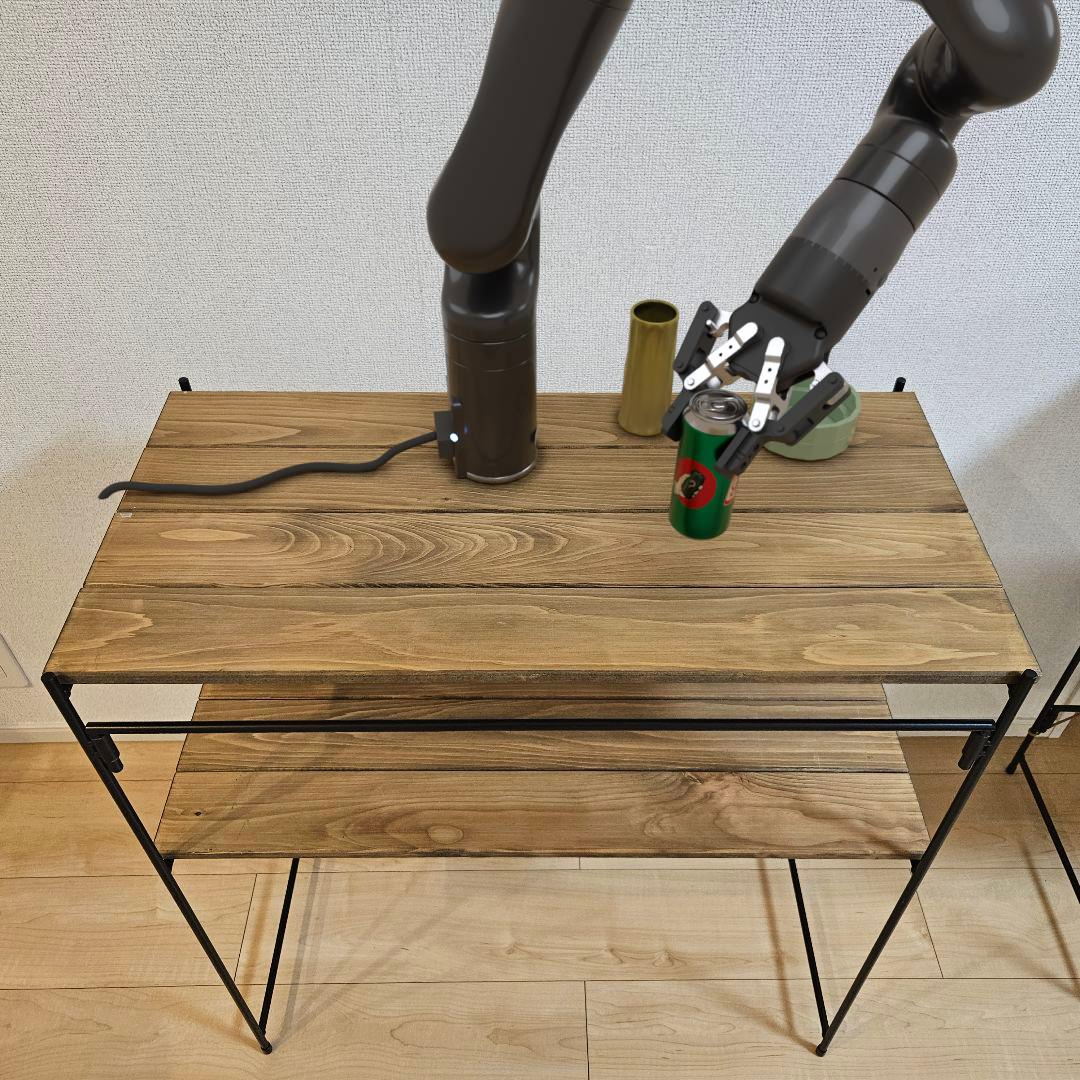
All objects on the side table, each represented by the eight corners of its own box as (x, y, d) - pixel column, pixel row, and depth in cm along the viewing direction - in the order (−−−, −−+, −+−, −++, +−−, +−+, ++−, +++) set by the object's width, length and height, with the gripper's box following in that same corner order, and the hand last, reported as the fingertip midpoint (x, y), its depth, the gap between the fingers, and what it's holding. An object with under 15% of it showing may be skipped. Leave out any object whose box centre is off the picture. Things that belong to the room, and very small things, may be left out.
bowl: (767, 469, 97) (776, 432, 94) (733, 408, 106) (740, 372, 102) (867, 458, 99) (879, 421, 95) (826, 399, 107) (835, 363, 103)
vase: (655, 401, 106) (667, 292, 97) (679, 430, 102) (694, 319, 92) (609, 412, 105) (616, 302, 95) (631, 441, 101) (641, 330, 91)
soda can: (732, 545, 72) (758, 425, 64) (670, 544, 72) (687, 424, 64) (724, 503, 76) (747, 385, 67) (665, 502, 76) (681, 384, 68)
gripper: (740, 203, 66) (607, 395, 69) (904, 278, 57) (745, 492, 60) (775, 251, 72) (652, 426, 75) (928, 325, 63) (782, 517, 66)
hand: (694, 454), depth 68 cm, fingers closed on soda can, 5 cm apart
